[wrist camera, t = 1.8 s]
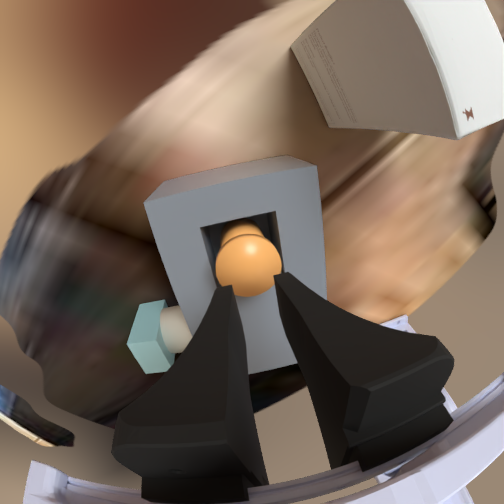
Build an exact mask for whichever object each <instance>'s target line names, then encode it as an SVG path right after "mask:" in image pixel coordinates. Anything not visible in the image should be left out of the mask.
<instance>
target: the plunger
mask: <svg viewBox="0 0 504 504" xmlns="http://www.w3.org/2000/svg"><path fill="white" fill-rule="evenodd" d="M220 247H221V248H220V250H219V252H218V254H217V257H216V276H217V279H218V281H219V283H220V284H221V286H227V285H232V287H233V291H234V295H237V296H242V297H251V296H256V295H259V294H262V293H264V292H266V291H267V290H269V289H270V288H271V287H272V286H273V285H274V284H275V283H274V277H273V275H276V274H280V273H281V267H282V265H281V258H280V256H279V254H278V252H277V250H276V248H275V246H274V245H273V244H272V243H271V242H270V241H269V240H268V239H266V238H265V237H264V236H263V233H262V231H261V229H260V227H259V226H258V224H257V223H256V222H254V221H253V220H251V219H248V218H239V219H235V220H231V221H229V222H228V223H227V224H226V225H225V226H224V227H223V229H222V231H221V234H220Z"/></svg>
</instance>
